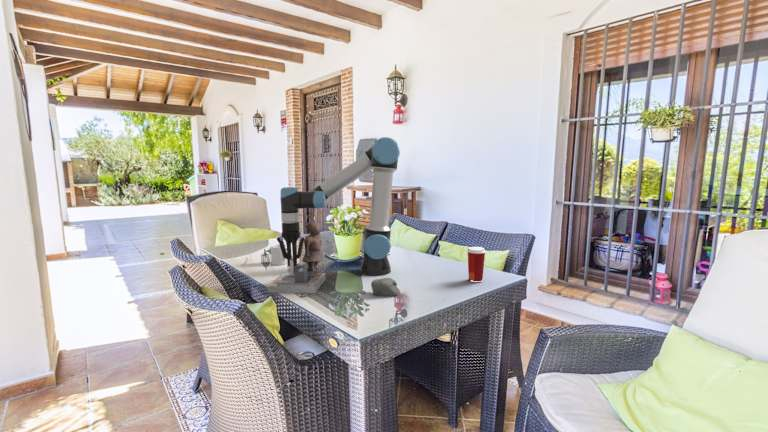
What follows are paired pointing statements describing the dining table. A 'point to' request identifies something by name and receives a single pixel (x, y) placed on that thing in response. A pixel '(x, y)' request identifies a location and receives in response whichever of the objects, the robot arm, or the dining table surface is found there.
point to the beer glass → (476, 263)
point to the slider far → (301, 266)
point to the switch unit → (297, 283)
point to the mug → (277, 255)
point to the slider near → (301, 275)
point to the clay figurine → (313, 246)
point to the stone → (385, 287)
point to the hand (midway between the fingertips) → (292, 273)
